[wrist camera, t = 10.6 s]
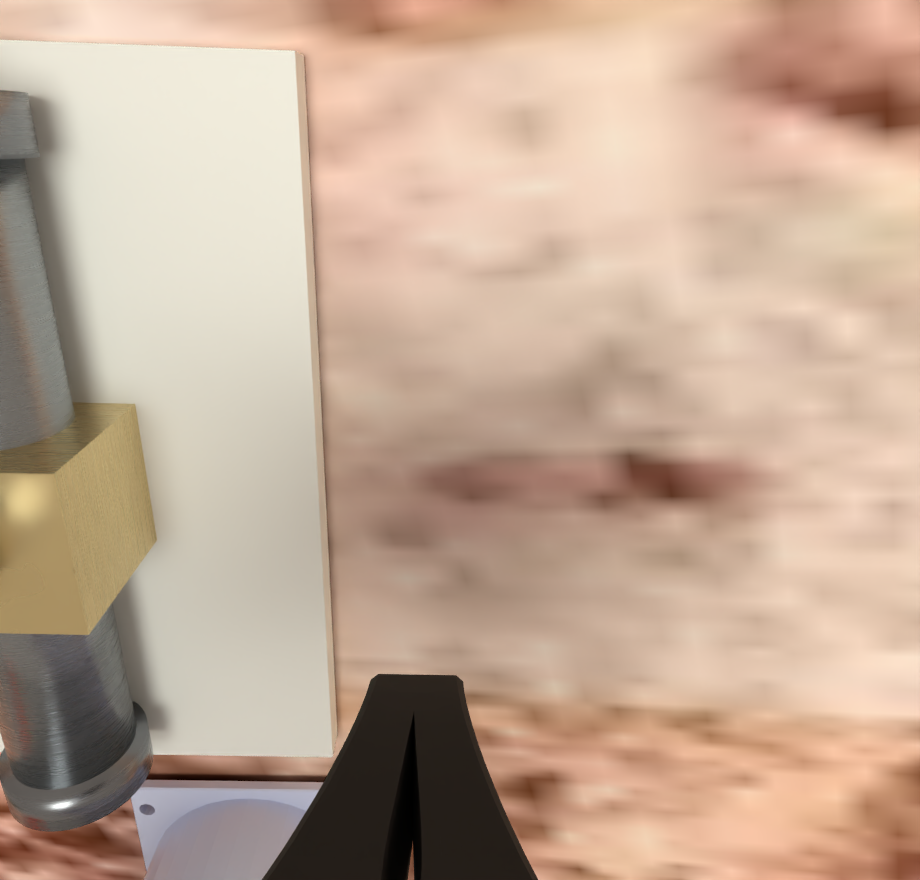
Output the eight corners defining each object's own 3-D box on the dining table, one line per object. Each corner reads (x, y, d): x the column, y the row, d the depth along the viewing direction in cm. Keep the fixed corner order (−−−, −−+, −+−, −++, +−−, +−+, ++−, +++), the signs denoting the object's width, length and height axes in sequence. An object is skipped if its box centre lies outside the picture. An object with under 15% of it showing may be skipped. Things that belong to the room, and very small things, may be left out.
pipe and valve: (191, 724, 23) (135, 850, 19) (32, 721, 22) (-58, 847, 18) (92, 97, 15) (-33, 84, 11) (-143, 88, 15) (-350, 73, 11)
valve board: (337, 732, 24) (332, 757, 23) (-89, 726, 23) (-111, 750, 22) (303, 55, 16) (294, 50, 15) (-343, 31, 15) (-393, 25, 14)
